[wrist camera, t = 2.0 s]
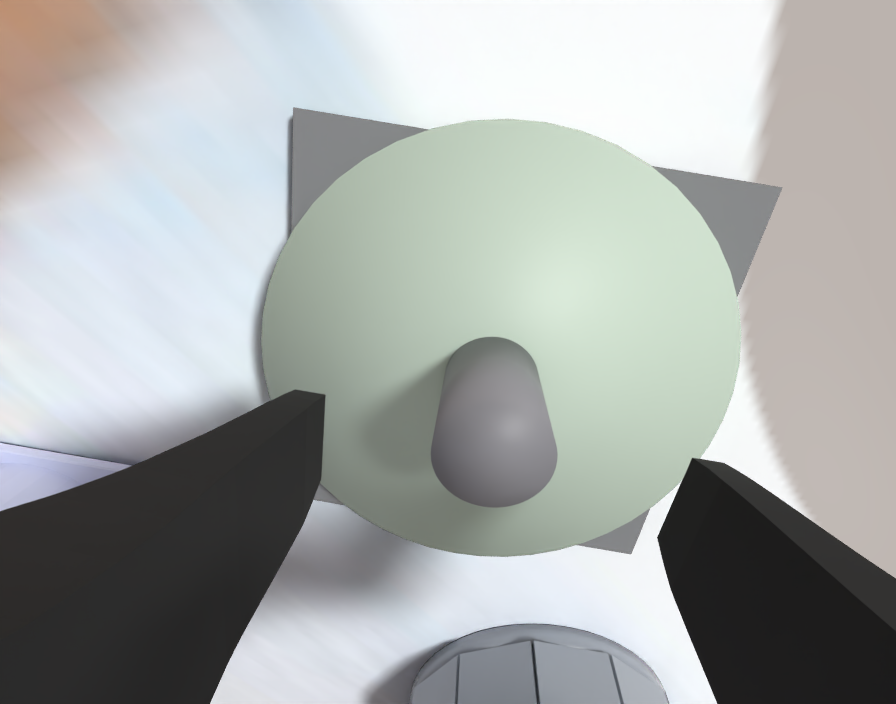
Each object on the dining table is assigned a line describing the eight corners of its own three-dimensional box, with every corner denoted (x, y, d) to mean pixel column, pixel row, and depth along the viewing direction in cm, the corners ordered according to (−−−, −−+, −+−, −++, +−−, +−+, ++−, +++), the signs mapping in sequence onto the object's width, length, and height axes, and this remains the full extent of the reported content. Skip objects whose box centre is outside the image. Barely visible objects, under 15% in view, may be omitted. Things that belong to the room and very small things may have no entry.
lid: (272, 503, 16) (202, 618, 12) (273, 80, 11) (151, 36, 7) (640, 566, 16) (693, 704, 12) (812, 168, 11) (1003, 174, 7)
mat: (291, 487, 16) (286, 495, 16) (299, 109, 12) (293, 107, 11) (627, 545, 16) (630, 554, 16) (773, 186, 12) (782, 187, 11)
